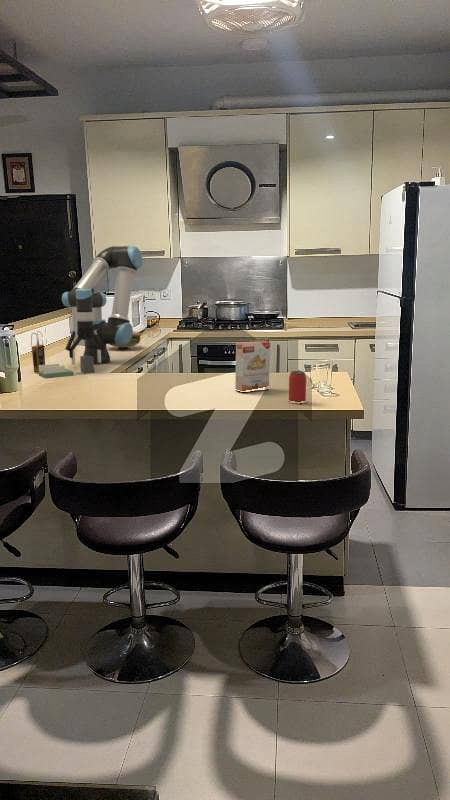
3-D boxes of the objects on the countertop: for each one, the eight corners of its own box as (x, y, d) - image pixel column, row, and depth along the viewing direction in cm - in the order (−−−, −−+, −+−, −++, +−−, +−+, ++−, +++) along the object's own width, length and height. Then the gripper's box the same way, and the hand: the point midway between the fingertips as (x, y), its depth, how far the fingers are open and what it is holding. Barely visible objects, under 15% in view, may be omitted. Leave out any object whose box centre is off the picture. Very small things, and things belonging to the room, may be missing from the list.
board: (66, 372, 307) (66, 362, 306) (73, 375, 300) (72, 365, 298) (39, 375, 299) (38, 365, 298) (44, 378, 292) (44, 367, 291)
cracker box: (242, 393, 256) (242, 343, 252) (234, 391, 261) (234, 342, 257) (270, 390, 264) (270, 341, 259) (261, 388, 269) (262, 340, 264)
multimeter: (48, 374, 303) (46, 333, 298) (30, 373, 305) (27, 333, 300) (62, 369, 317) (59, 330, 313) (44, 368, 319) (41, 330, 314)
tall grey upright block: (80, 347, 401) (78, 303, 395) (73, 344, 414) (71, 302, 408) (108, 345, 411) (106, 302, 405) (100, 342, 423) (99, 301, 417)
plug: (90, 371, 311) (89, 355, 310) (94, 372, 307) (93, 356, 306) (80, 372, 309) (80, 356, 307) (84, 373, 305) (83, 357, 303)
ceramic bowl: (151, 350, 387) (151, 334, 384) (117, 353, 373) (116, 337, 370) (128, 345, 410) (128, 330, 408) (95, 348, 396) (95, 332, 394)
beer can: (287, 400, 243) (287, 370, 241) (303, 400, 244) (304, 370, 241) (290, 404, 237) (291, 373, 234) (307, 404, 237) (308, 373, 235)
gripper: (105, 319, 312) (106, 360, 317) (57, 321, 299) (59, 364, 303) (111, 320, 306) (112, 362, 310) (62, 322, 293) (64, 366, 297)
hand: (86, 363), depth 307 cm, fingers open, 13 cm apart
